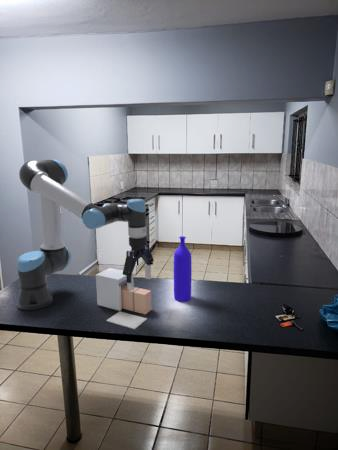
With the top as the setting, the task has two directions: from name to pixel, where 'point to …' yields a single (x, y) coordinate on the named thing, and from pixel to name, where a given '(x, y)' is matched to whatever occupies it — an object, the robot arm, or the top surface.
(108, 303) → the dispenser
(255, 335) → the top surface
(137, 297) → the wooden twin blocks
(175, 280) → the bottle
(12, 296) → the top surface
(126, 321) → the pad
